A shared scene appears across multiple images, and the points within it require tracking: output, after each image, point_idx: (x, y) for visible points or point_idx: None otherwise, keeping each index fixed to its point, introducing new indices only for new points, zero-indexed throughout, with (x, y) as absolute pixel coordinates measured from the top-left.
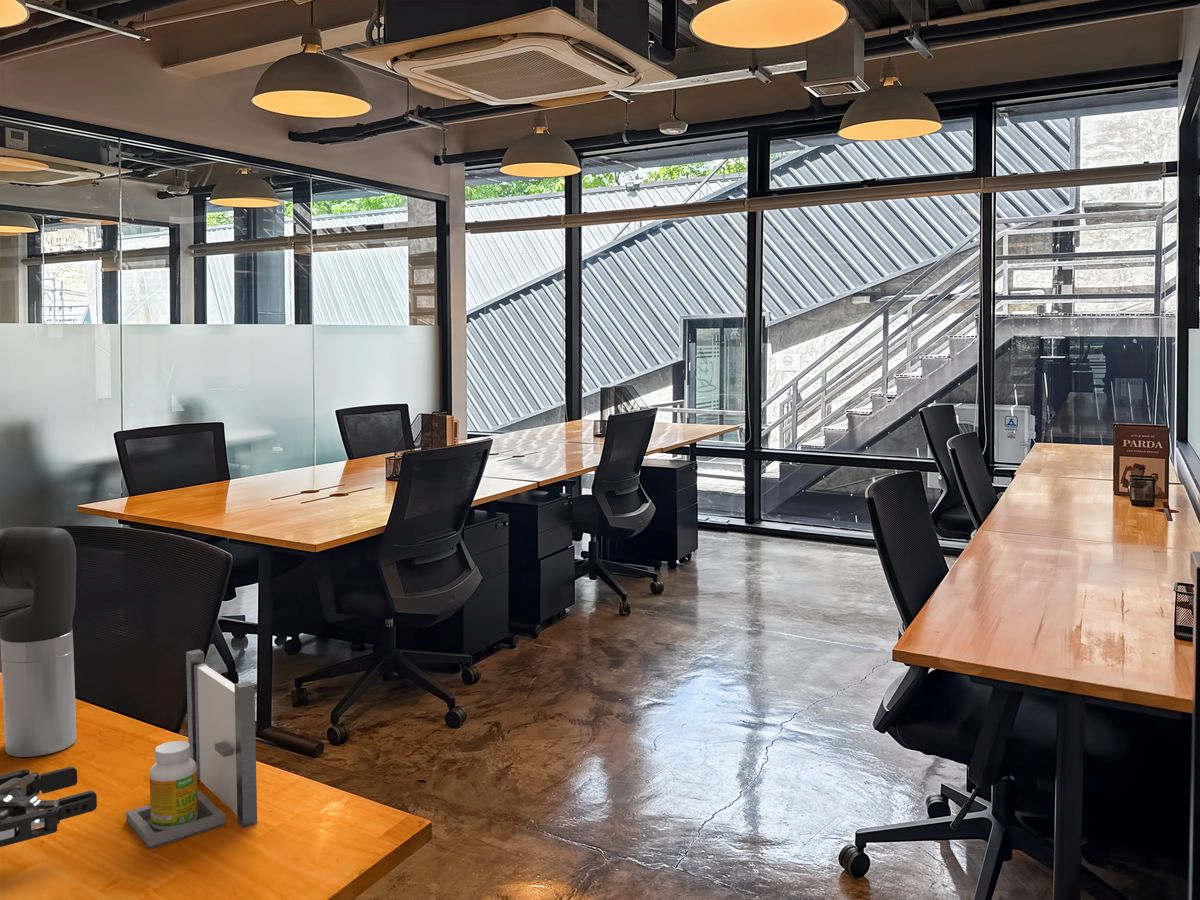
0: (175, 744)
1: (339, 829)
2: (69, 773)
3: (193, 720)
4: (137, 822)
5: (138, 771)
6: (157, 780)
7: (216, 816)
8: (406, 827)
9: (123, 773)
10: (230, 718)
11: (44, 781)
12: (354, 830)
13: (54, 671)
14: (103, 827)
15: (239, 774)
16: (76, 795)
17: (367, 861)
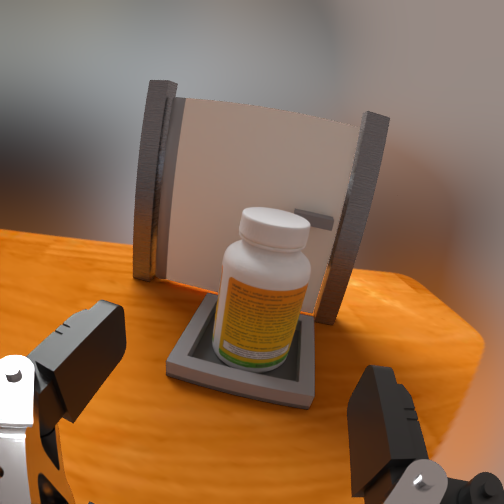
0: (270, 212)
1: (390, 295)
2: (111, 327)
3: (154, 190)
4: (230, 376)
5: (52, 280)
6: (287, 289)
7: (310, 322)
8: (410, 280)
9: (35, 286)
10: (323, 169)
11: (65, 386)
12: (398, 293)
13: None
14: (144, 401)
15: (347, 255)
16: (390, 406)
17: (452, 312)
